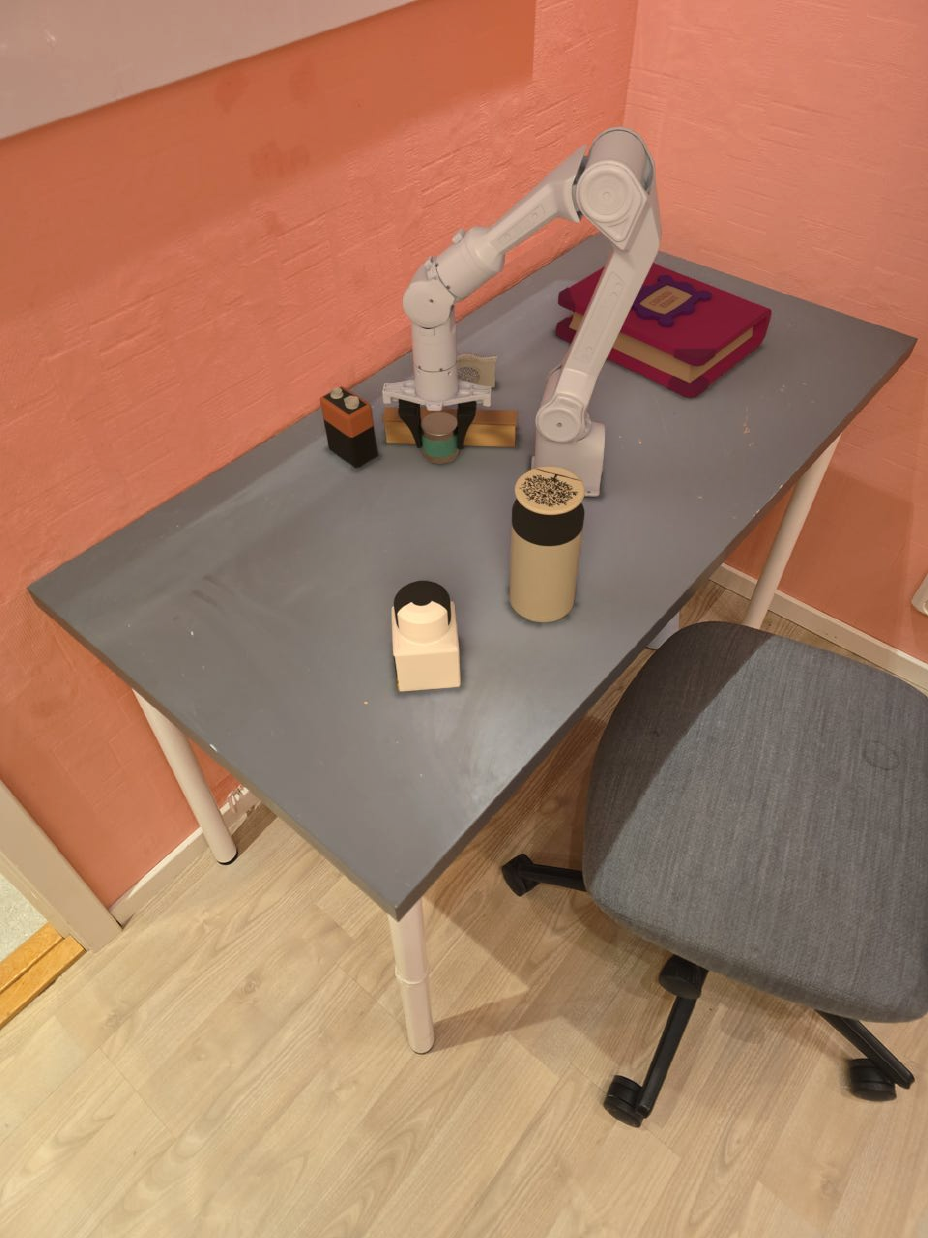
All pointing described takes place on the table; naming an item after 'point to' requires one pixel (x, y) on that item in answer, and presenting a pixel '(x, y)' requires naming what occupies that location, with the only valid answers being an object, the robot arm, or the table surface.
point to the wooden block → (481, 432)
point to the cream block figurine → (425, 638)
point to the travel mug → (546, 543)
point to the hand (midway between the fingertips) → (440, 444)
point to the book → (675, 329)
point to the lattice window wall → (478, 368)
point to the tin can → (439, 437)
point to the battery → (349, 426)
